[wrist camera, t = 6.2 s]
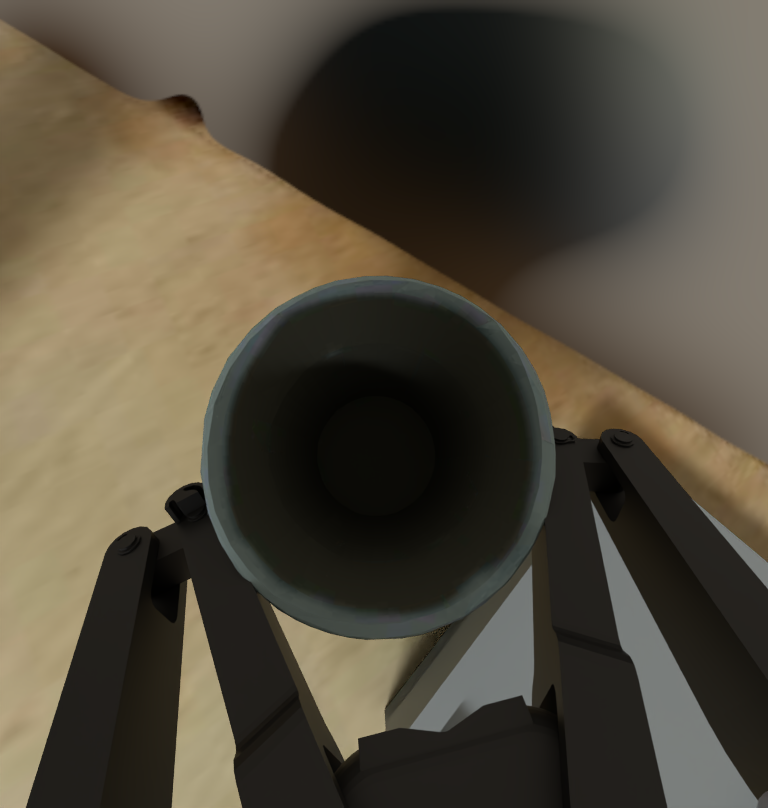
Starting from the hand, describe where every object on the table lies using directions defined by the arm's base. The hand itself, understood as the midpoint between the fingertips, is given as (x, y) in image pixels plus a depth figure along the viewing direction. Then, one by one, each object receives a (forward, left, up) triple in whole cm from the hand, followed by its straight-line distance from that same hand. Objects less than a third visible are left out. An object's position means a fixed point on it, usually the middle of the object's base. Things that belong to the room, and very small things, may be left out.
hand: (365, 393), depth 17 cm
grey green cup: (+3, -2, -4) cm, 5 cm away
